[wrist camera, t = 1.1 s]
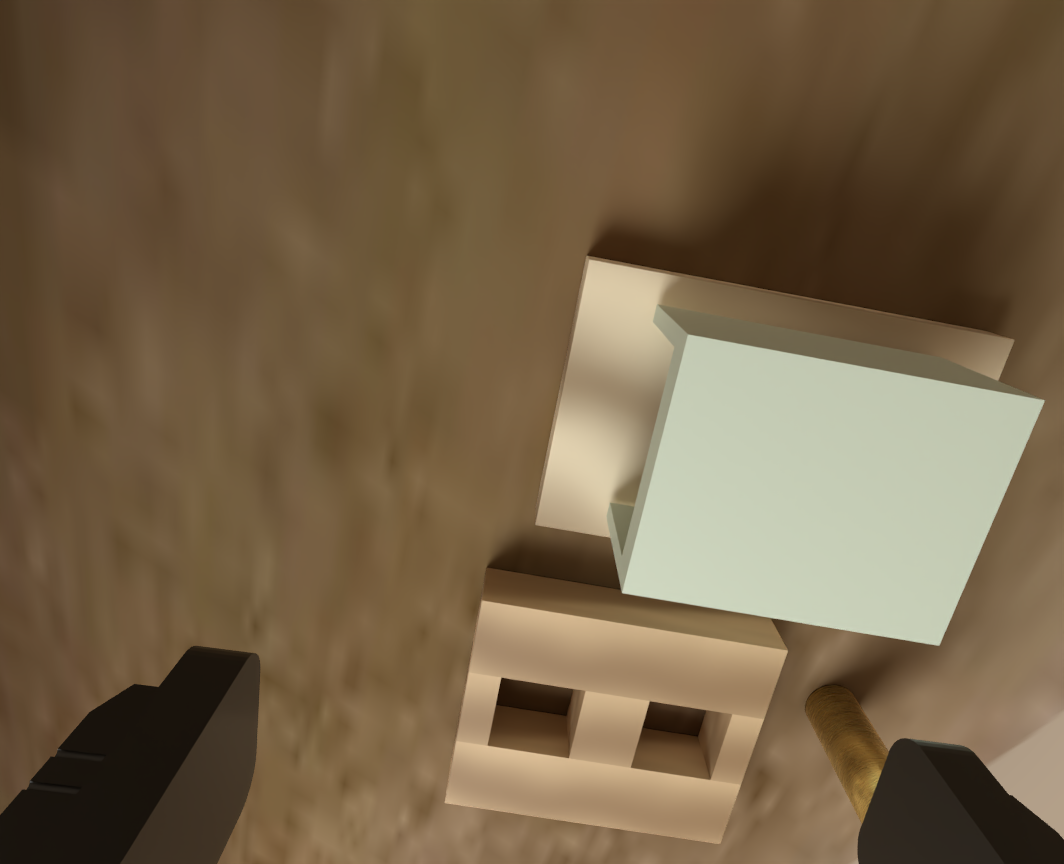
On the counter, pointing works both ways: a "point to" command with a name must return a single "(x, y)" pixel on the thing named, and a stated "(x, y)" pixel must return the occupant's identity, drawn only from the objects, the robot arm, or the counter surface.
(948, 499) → the cover
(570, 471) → the board
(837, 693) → the peg
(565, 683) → the socket board
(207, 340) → the counter surface
